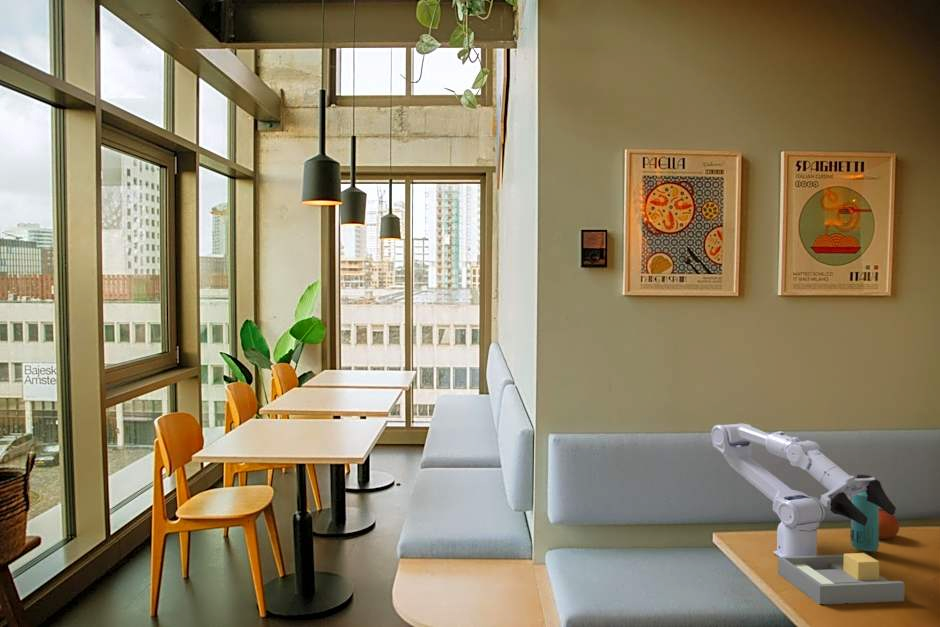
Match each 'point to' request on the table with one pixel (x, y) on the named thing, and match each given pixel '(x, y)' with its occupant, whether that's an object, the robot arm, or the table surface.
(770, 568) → the table surface
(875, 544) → the beverage bottle
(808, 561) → the box
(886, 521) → the fruit
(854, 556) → the block
